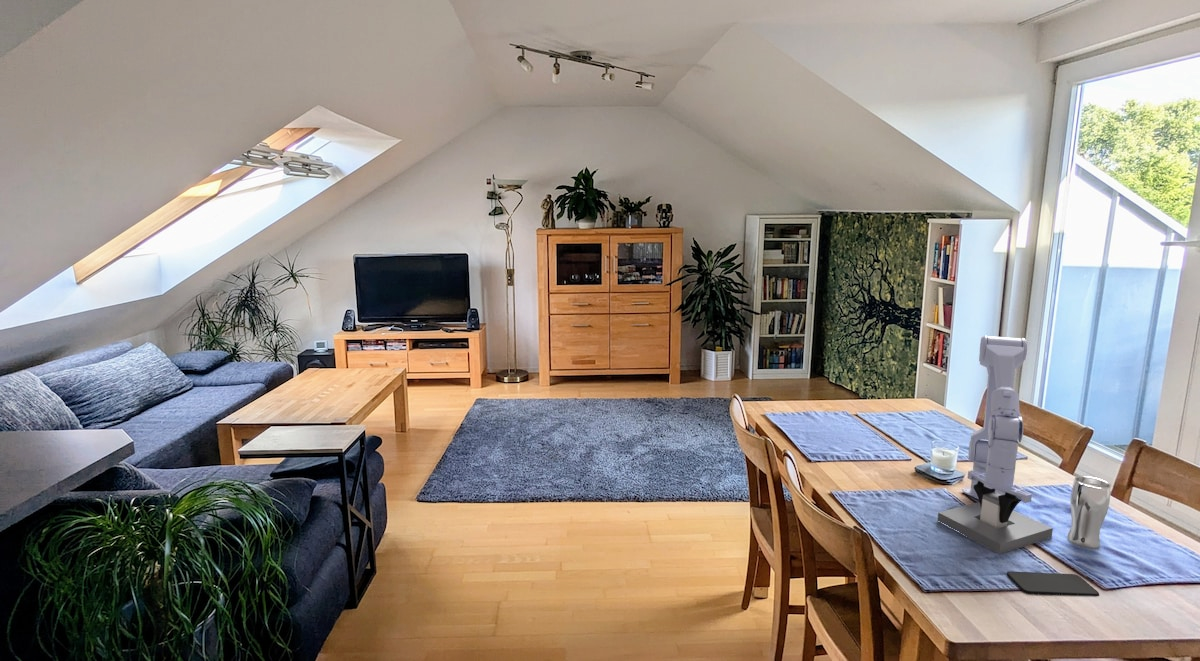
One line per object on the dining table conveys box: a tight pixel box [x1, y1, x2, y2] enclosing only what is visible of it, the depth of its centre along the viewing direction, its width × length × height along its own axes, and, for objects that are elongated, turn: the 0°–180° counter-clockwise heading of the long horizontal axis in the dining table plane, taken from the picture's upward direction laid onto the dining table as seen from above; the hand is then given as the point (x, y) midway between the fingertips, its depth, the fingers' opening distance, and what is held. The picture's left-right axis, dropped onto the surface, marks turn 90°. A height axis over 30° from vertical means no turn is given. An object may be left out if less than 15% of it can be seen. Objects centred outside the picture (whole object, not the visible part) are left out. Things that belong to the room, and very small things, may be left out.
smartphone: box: [1006, 571, 1100, 597], centre depth 128 cm, size 7×1×15 cm
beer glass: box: [1066, 475, 1112, 549], centre depth 143 cm, size 7×7×15 cm
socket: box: [937, 501, 1054, 555], centre depth 150 cm, size 18×16×2 cm
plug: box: [980, 492, 1007, 529], centre depth 149 cm, size 4×4×8 cm
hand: (994, 517), depth 149 cm, fingers closed on plug, 4 cm apart
